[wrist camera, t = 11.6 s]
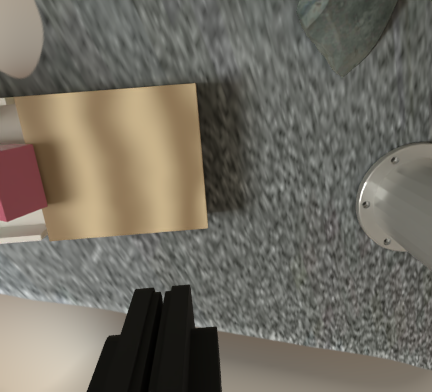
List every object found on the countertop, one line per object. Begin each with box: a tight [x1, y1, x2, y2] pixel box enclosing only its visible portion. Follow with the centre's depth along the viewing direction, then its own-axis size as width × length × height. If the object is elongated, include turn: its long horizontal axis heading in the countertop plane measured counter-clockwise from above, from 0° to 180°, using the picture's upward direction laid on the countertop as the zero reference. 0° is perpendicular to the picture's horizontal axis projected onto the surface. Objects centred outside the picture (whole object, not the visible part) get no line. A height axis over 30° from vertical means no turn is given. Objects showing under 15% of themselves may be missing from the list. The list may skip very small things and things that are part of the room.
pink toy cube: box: [0, 143, 48, 222], centre depth 32 cm, size 6×6×4 cm
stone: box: [296, 0, 398, 78], centre depth 31 cm, size 11×4×10 cm
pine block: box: [14, 83, 208, 241], centre depth 34 cm, size 16×14×4 cm
